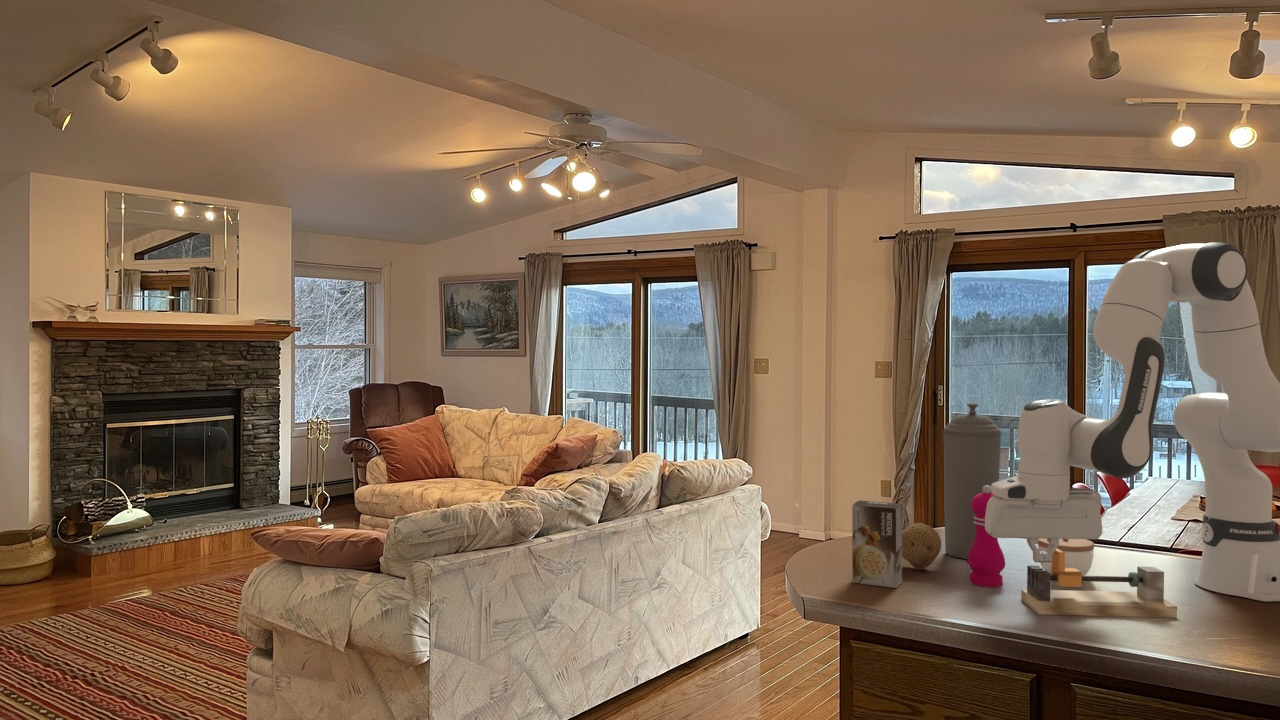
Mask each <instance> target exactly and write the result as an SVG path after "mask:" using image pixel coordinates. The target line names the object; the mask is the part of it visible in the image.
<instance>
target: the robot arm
mask: <svg viewBox="0 0 1280 720" xmlns="http://www.w3.org/2000/svg"><path fill="white" fill-rule="evenodd" d="M1248 271H1249V270H1248V263H1247V260H1246V258H1245V256H1244V254H1243V253H1242V251H1240V249H1239V248H1238V247H1237V246H1236V245H1233V244H1230V243H1226V242H1217V241H1216V242H1215V241H1213V242H1208V243H1204V242H1202V243H1200V242H1199V243H1195V242H1194V243H1182V244H1179V245H1174V246H1168V247H1164V248H1160V249H1159V248H1154V249H1153V248H1152V249H1149V250H1145V251H1143V252H1141V253H1140V254H1137V255H1135V256H1134V258H1133V259H1131V260H1128V261H1127V262H1125V263H1123V265H1122V266H1121V267H1120V268H1119V270H1118V271H1117V272H1116V274H1115V276H1114V277H1113V279H1112V281H1111V283H1110V285H1108V288H1107V290H1106V293H1105V295H1104V297H1103V299H1102V301H1101V303H1100V306H1099V309H1098V311H1097V314H1096V316H1095V319H1094V323H1093V330H1092V336H1093V339H1094V342H1095V343H1096V344H1095V345H1096V346H1097V347H1098V349H1099V350H1101V351H1102V352H1103V354H1105V355H1107V356H1108V357H1109V358H1111V359H1113V360H1114V361H1116V362H1118V363H1119V364H1120V365H1121V366H1122V368H1123V371H1124V379H1123V382H1122V389H1121V393H1120V396H1119V402H1118V405H1117V406H1118V407H1117V410H1116V414H1115V415H1114V416H1113V417H1112V418H1110V419H1102V418H1096V417H1091V416H1087V415H1086V414H1082V413H1080V412H1078V411H1076V410H1074V409H1072V408H1071V407H1070V406H1069V405H1068V404H1067V402H1066V401H1065V400H1062V399H1057V398H1047V399H1037V400H1034V401H1030V402H1028V403H1026V404H1025V405H1024V406H1023V407H1022V408H1021V412H1020V415H1019V420H1018V428H1017V429H1018V431H1017V449H1018V454H1019V461H1018V462H1019V463H1018V466H1017V475H1015V476H1012V477H1008V478H1005V479H1001V480H999V481H997V482H994V483H992V485H991V492H992V493H993V494H994V496H992V497H991V498H990V499H989V501H988V503H987V508H986V515H985V530H986V532H987V533H988V534H989V535H990V536H992V537H994V538H997V539H1026V542H1027V544H1028V546H1029V548H1030V550H1031V551H1032V561H1033V562H1034V563H1040V562H1044V563H1052V557H1053V553H1054V552H1055V550H1056V549H1057V547H1058V546H1059V539H1087V540H1098V539H1099V538H1101V536H1102V535H1103V522H1102V521H1103V519H1102V515H1101V510H1102V509H1101V508H1102V496H1101V494H1100V493H1099V492H1098V491H1097V490H1095V489H1094V488H1091V487H1085V488H1080V487H1071V484H1070V483H1071V479H1070V478H1071V474H1070V473H1071V470H1070V467H1074V468H1075V467H1076V468H1078V469H1079V468H1080V469H1083V470H1086V471H1087V470H1088V471H1093V472H1100V473H1101V474H1104V475H1108V476H1111V477H1114V478H1117V479H1129V478H1132V477H1134V476H1136V475H1137V474H1139V473H1140V472H1141V471H1142V470H1144V468H1145V467H1146V466H1147V465H1148V463H1149V461H1150V458H1151V456H1152V451H1153V449H1152V447H1153V441H1152V440H1153V437H1152V436H1153V426H1154V420H1155V415H1156V412H1157V411H1156V410H1157V406H1158V401H1159V396H1160V391H1161V386H1162V382H1163V381H1162V380H1163V377H1164V376H1163V375H1164V370H1165V364H1166V362H1165V361H1166V356H1165V350H1164V348H1163V346H1162V345H1161V342H1160V340H1161V339H1160V337H1161V332H1162V327H1163V325H1164V322H1165V320H1166V317H1167V312H1168V309H1169V305H1170V303H1189V305H1190V306H1191V309H1190V310H1191V324H1192V331H1193V338H1194V345H1195V350H1196V357H1197V364H1198V366H1199V368H1200V370H1201V371H1202V372H1203V373H1204V374H1206V375H1207V376H1208V377H1210V378H1212V379H1214V380H1215V381H1216V382H1217V383H1218V384H1219V385H1220V387H1221V388H1222V389H1223V391H1224V392H1219V391H1218V392H1216V391H1206V392H1199V393H1193V394H1188V395H1186V396H1184V397H1182V398H1181V399H1180V400H1179V401H1178V402H1177V404H1176V406H1175V409H1174V412H1173V424H1174V427H1175V428H1176V432H1177V433H1178V434H1179V435H1180V436H1181V437H1182V438H1183V439H1184V440H1186V441H1187V443H1188V444H1189V445H1190V446H1191V448H1192V450H1193V451H1194V452H1195V454H1196V456H1197V457H1198V458H1197V459H1198V461H1199V463H1200V465H1201V469H1202V473H1203V478H1204V486H1205V491H1204V492H1205V493H1204V494H1205V513H1204V514H1203V515H1202V532H1201V533H1202V542H1203V546H1202V554H1201V558H1200V559H1201V560H1200V564H1199V568H1198V571H1197V575H1196V577H1195V579H1194V584H1195V585H1196V586H1198V587H1200V588H1203V589H1205V590H1208V591H1211V592H1215V593H1219V594H1225V595H1229V596H1230V595H1231V596H1234V597H1235V596H1237V597H1242V598H1247V599H1250V600H1256V601H1260V602H1280V523H1278V522H1276V521H1274V520H1273V519H1272V517H1273V515H1272V514H1273V484H1272V481H1271V479H1270V478H1269V476H1268V475H1266V474H1265V473H1264V472H1263V471H1261V470H1260V469H1259V468H1257V467H1256V465H1254V464H1253V462H1252V460H1251V458H1250V455H1249V453H1248V450H1249V451H1257V452H1263V453H1264V452H1265V453H1280V382H1279V380H1278V379H1277V377H1276V376H1275V374H1274V373H1273V371H1272V369H1271V367H1270V365H1269V362H1268V359H1267V356H1266V352H1265V348H1264V343H1263V338H1262V330H1261V324H1260V323H1261V322H1260V317H1259V312H1258V308H1257V304H1256V300H1255V298H1254V295H1253V291H1252V288H1251V286H1250V284H1249V281H1248V279H1247V278H1248ZM1039 538H1041V539H1047V542H1049V543H1050V544H1049V545H1048V547H1047V549H1046V551H1039V550H1038V546H1037V545H1038V542H1039Z"/></svg>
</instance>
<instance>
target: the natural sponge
mask: <svg viewBox="0 0 1280 720" xmlns="http://www.w3.org/2000/svg"><path fill="white" fill-rule="evenodd" d="M941 548H942V540H941V536H940V535H939V533H938V532H937V531H936V530H935V529H934V528H933V527H932V526H930V525H927V524H925V523H921V522H919V523H912V524H910V525H909V526H907V527H906V528H905V529H904V530H902V559H903V558H904V560H906V561H907V562H908V563H909V564H910V565H911V566H912V567H913V568H915V569H916V570H925V569H927V568H928V567H929V566H931V565H932V564H933V562H934V561H935V560H936V559H937V557H938V556H939V554H940V551H941Z"/></svg>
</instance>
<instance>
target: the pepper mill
mask: <svg viewBox="0 0 1280 720" xmlns="http://www.w3.org/2000/svg"><path fill="white" fill-rule="evenodd" d="M982 490H983V492H984V493H979V494H977V495H976V496H974V498H973V499H972V502H971V508H972V510H973V512H974V513H975V515H976V516H974V523H975V524H976V537H975V540H974V543H973V545H972V547H971V549H970V551H969V554H968V559H966V560H967V561H966V562H967V565H968V566H969V568H970V570H971V571H970V572H969V582H970V584H973V585H975V586H978V587H985V588H999V587H1002V586H1003V575H1002V574H1001V572H1002V571H1003V570H1004V569H1005V567H1006V559H1005V554H1004V553H1003V550H1002V548H1001V546H1000V543H999V540H998V539H999V538H994V537H992V536H990V535H989V534H988V533H987V532H986V530H985V515H986V508H987V503H988V501H989V499H990V498H991V497H992V496H994V494H992V493H991V487H990V486H988V485H986V486H984V487H983V489H982Z"/></svg>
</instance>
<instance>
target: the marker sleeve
mask: <svg viewBox="0 0 1280 720" xmlns="http://www.w3.org/2000/svg"><path fill="white" fill-rule="evenodd" d="M1052 575H1057V581H1051V583H1056V586H1057V587H1069V588H1070V587H1074V588H1075V587H1077V588H1078V587H1079V588H1081V587H1082V582H1083V581H1082V572H1081V571H1079V570H1077V569H1076V568H1074V567H1065V552H1063V551H1061V550H1059V549H1058V548H1057V549H1056V550H1055V552H1054V553H1053V557H1052Z"/></svg>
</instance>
